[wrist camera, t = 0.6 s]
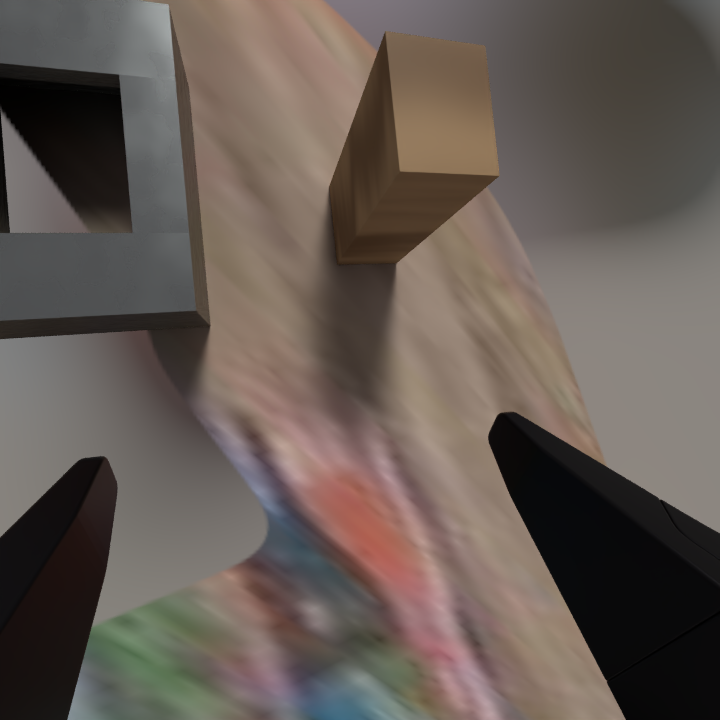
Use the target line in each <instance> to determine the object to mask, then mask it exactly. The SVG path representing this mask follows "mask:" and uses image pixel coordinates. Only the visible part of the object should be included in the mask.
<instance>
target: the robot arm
mask: <svg viewBox="0 0 720 720" xmlns="http://www.w3.org/2000/svg"><path fill="white" fill-rule="evenodd" d="M488 440H489V444H490V447H491V449H492V452H493V454H494V457H495V459H496V462H497V464H498V467H499V469H500V472H501V474H502V477H503V479H504V482H505V484H506V487H507V489H508V491H509V494H510V496H511V498H512V500H513V502H514V504H515V506H516V508H517V510H518V512H519V514H520V516H521V518H522V519H523V521H524V523H525V525H526V527H527V529H528V531H529V533H530V535H531V537H532V539H533V541H534V543H535V545H536V546H537V548H538V550H539V552H540V554H541V556H542V558H543V560H544V562H545V564H546V566H547V568H548V570H549V572H550V573H551V575H552V577H553V579H554V581H555V583H556V585H557V587H558V589H559V591H560V593H561V595H562V597H563V599H564V600H565V602H566V604H567V606H568V608H569V610H570V612H571V614H572V616H573V618H574V620H575V622H576V624H577V626H578V627H579V629H580V631H581V633H582V635H583V637H584V639H585V641H586V643H587V645H588V647H589V649H590V651H591V653H592V654H593V656H594V658H595V660H596V662H597V664H598V666H599V668H600V670H601V672H602V674H603V676H604V678H605V679H606V680H607V684H608V686H609V688H610V690H611V692H612V694H613V695H614V697H615V699H616V701H617V703H618V705H619V707H620V709H621V711H622V713H623V715H624V717H625V719H626V720H720V533H718V532H716V531H714V530H713V529H711V528H709V527H707V526H705V525H704V524H702V523H700V522H699V521H697V520H695V519H693V518H692V517H690V516H688V515H686V514H685V513H683V512H681V511H680V510H678V509H676V508H675V507H673V506H671V505H670V504H668V503H666V502H665V501H663V500H659V498H658V497H656V496H654V495H653V494H651V493H649V492H648V491H646V490H645V489H643V488H641V487H639V486H638V485H636V484H635V483H633V482H631V481H629V480H628V479H626V478H625V477H623V476H621V475H619V474H618V473H616V472H614V471H613V470H611V469H609V468H608V467H606V466H604V465H603V464H601V463H599V462H598V461H596V460H594V459H593V458H591V457H589V456H588V455H586V454H584V453H583V452H581V451H579V450H578V449H576V448H574V447H573V446H571V445H569V444H568V443H566V442H564V441H563V440H561V439H559V438H558V437H556V436H554V435H553V434H551V433H549V432H548V431H546V430H544V429H543V428H541V427H539V426H538V425H536V424H534V423H533V422H531V421H529V420H528V419H526V418H524V417H523V416H521V415H519V414H518V413H516V412H504V413H500V414H498V415H497V417H496V419H495V421H494V423H493V426H492V428H491V430H490V432H489V435H488ZM116 499H117V481H116V479H115V476H114V474H113V471H112V469H111V466H110V464H109V461H108V459H107V458H106V457H104V456H100V457H91V458H83V459H81V460H79V461H78V462H77V463H75V464H74V465H73V466H72V467H71V468H70V469H69V470H68V471H67V472H66V473H65V474H64V475H63V476H62V477H61V478H60V479H59V480H58V481H57V482H56V483H55V484H54V485H53V486H52V487H51V488H50V489H49V490H48V491H47V492H46V493H45V494H44V495H43V496H42V497H41V498H40V499H39V500H38V501H37V502H36V503H35V504H34V505H33V506H32V507H31V508H30V509H29V510H28V511H27V512H26V513H25V514H24V515H23V516H22V517H21V518H20V519H18V521H17V522H15V524H13V525H12V526H11V527H10V528H9V529H8V530H7V531H6V532H5V533H4V534H3V535H2V536H1V537H0V720H67V719H68V715H69V711H70V707H71V703H72V700H73V696H74V692H75V688H76V684H77V681H78V677H79V673H80V669H81V665H82V662H83V658H84V654H85V650H86V646H87V643H88V639H89V635H90V631H91V627H92V624H93V620H94V616H95V612H96V608H97V605H98V601H99V597H100V593H101V589H102V585H103V582H104V577H105V573H106V568H107V562H108V556H109V549H110V542H111V535H112V528H113V521H114V512H115V506H116Z"/></svg>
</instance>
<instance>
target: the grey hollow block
mask: <svg viewBox="0 0 720 720" xmlns="http://www.w3.org/2000/svg"><path fill="white" fill-rule="evenodd" d="M0 85H7V86H19V87H31V88H43V89H55V90H67V91H79V92H91V93H102V94H114V95H121V102H122V114H123V125H124V137H125V149H126V160H127V172H128V184H129V195H130V207H131V219H132V231H133V233H10V228H9V216H8V203H7V190H6V177H5V164H4V151H3V138H2V126H1V112H0V339H8V338H24V337H41V336H57V335H73V334H89V333H106V332H122V331H137V330H154V329H171V328H187V327H203V326H210V316H209V305H208V294H207V283H206V272H205V260H204V249H203V238H202V227H201V216H200V205H199V194H198V183H197V172H196V161H195V149H194V138H193V127H192V116H191V105H190V94H189V86H188V82H187V78H186V73H185V69H184V65H183V61H182V57H181V53H180V49H179V45H178V41H177V37H176V33H175V28H174V24H173V20H172V16H171V12H170V8H169V5H168V4H161V3H154V2H147V1H140V0H0Z"/></svg>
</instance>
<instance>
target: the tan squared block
mask: <svg viewBox="0 0 720 720" xmlns="http://www.w3.org/2000/svg"><path fill="white" fill-rule="evenodd" d="M497 177H499V167H498V158H497V149H496V140H495V131H494V122H493V112H492V103H491V95H490V85H489V76H488V67H487V58H486V49H485V46H483V45H476V44H468V43H462V42H456V41H449V40H442V39H435V38H429V37H422V36H415V35H407V34H402V33H395V32H387V31H385V34H384V36H383V39H382V42H381V45H380V47H379V50H378V53H377V56H376V58H375V61H374V64H373V67H372V70H371V72H370V75H369V78H368V81H367V83H366V86H365V89H364V92H363V95H362V97H361V100H360V103H359V106H358V108H357V111H356V114H355V117H354V120H353V122H352V125H351V128H350V131H349V133H348V136H347V139H346V142H345V145H344V147H343V150H342V153H341V156H340V158H339V161H338V164H337V167H336V170H335V172H334V175H333V178H332V181H331V183H330V186H329V188H330V198H331V208H332V219H333V229H334V239H335V249H336V259H337V265H344V264H386V263H397V262H399V261H400V260H401V259H402V258H403V257H404V256H406V255H407V254H408V253H409V252H410V251H411V250H413V249H414V248H415V247H416V246H417V245H419V244H420V243H421V242H422V241H423V240H424V239H426V238H427V237H428V236H429V235H430V234H431V233H433V232H434V231H435V230H436V229H437V228H439V227H440V226H441V225H442V224H443V223H444V222H446V221H447V220H448V219H449V218H450V217H452V216H453V215H454V214H455V213H456V212H457V211H459V210H460V209H461V208H462V207H463V206H464V205H466V204H467V203H468V202H469V201H470V200H472V199H473V198H474V197H475V196H476V195H477V194H479V193H480V192H481V191H482V190H483V189H484V188H486V187H487V186H488V185H489V184H490V183H492V182H493V181H494V180H495V179H496V178H497Z"/></svg>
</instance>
